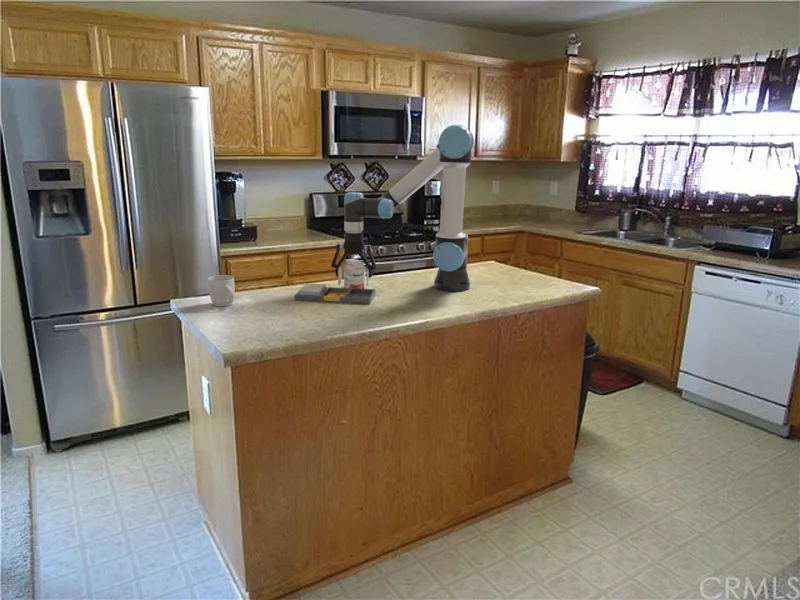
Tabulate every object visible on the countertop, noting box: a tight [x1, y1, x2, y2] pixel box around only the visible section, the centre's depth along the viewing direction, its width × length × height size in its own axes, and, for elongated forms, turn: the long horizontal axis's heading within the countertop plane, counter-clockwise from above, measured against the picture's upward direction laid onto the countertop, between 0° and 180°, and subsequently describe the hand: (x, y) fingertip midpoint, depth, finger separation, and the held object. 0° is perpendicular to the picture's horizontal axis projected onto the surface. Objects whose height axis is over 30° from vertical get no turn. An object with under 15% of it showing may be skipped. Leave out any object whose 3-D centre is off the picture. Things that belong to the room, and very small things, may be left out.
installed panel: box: [298, 283, 327, 296], centre depth 213 cm, size 8×11×3 cm
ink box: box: [343, 258, 365, 289], centre depth 225 cm, size 8×5×12 cm, turn 39°
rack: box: [294, 286, 377, 305], centre depth 213 cm, size 29×14×2 cm, turn 83°
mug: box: [207, 274, 236, 308], centre depth 198 cm, size 13×9×10 cm
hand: (353, 284), depth 227 cm, fingers open, 11 cm apart
